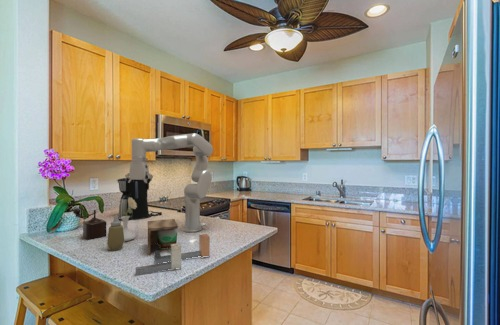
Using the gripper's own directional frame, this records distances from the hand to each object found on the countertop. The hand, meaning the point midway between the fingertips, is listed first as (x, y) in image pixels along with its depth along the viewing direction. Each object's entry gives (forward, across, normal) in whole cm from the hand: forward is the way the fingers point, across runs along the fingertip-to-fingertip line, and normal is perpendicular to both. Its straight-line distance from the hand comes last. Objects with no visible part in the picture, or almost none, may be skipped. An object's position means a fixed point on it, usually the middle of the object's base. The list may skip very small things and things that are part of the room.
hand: (139, 189), depth 138 cm
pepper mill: (+31, +36, -2) cm, 47 cm away
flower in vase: (+31, +11, -3) cm, 33 cm away
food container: (+31, -20, +3) cm, 37 cm away
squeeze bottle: (+31, +6, +12) cm, 33 cm away
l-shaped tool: (+30, -31, +30) cm, 53 cm away
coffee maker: (+31, +40, -54) cm, 74 cm away
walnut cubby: (+30, -17, +5) cm, 35 cm away
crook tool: (+31, -34, +14) cm, 48 cm away
